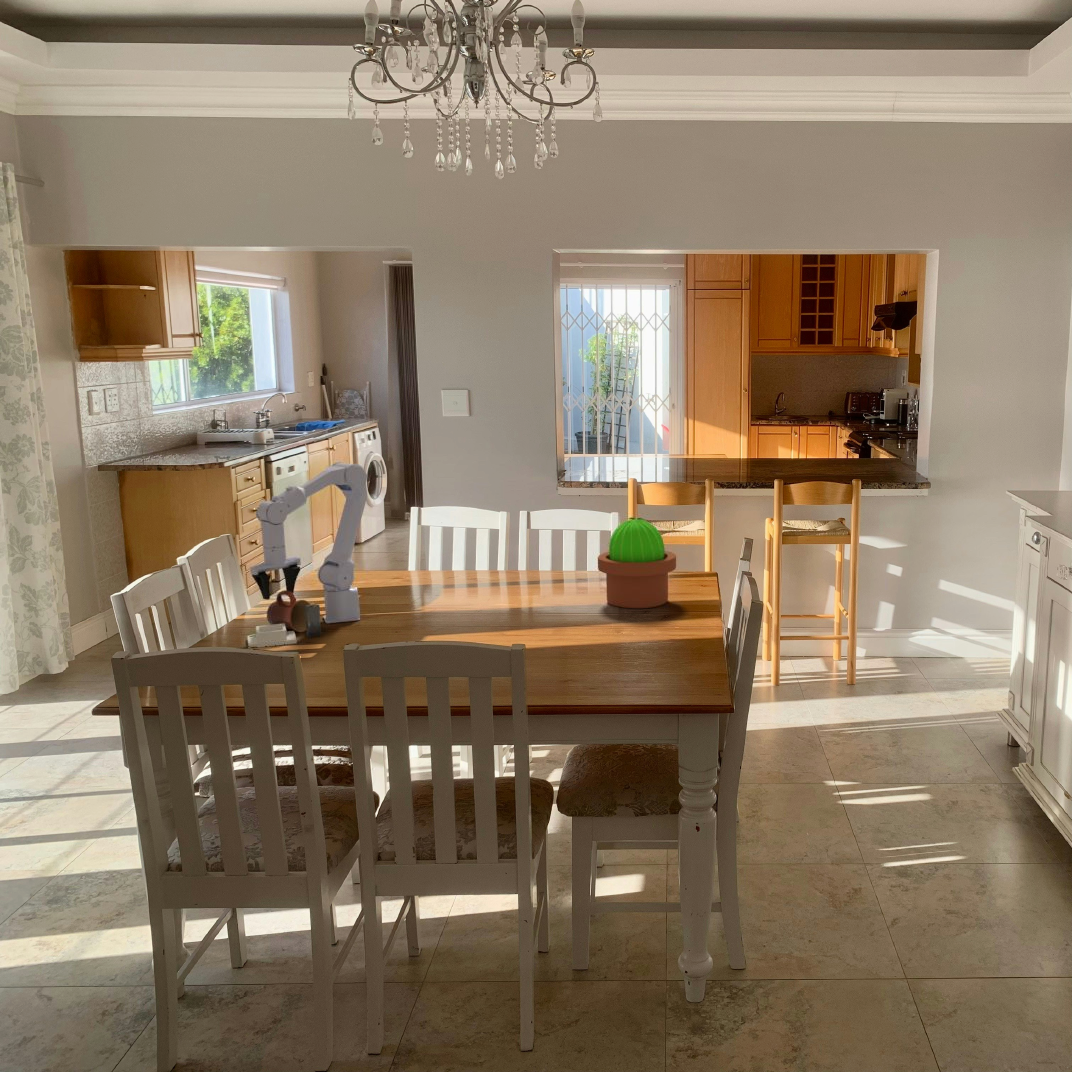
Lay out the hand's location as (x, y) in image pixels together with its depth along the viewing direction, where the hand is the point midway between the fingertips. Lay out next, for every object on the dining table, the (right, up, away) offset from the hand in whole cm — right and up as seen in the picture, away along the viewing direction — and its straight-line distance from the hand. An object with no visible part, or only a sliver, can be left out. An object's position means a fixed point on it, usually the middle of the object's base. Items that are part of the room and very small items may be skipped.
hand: (278, 596), depth 267 cm
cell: (+10, -10, -1) cm, 14 cm away
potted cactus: (+98, -3, +23) cm, 101 cm away
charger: (0, -11, -6) cm, 13 cm away
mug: (-3, -4, +7) cm, 8 cm away
